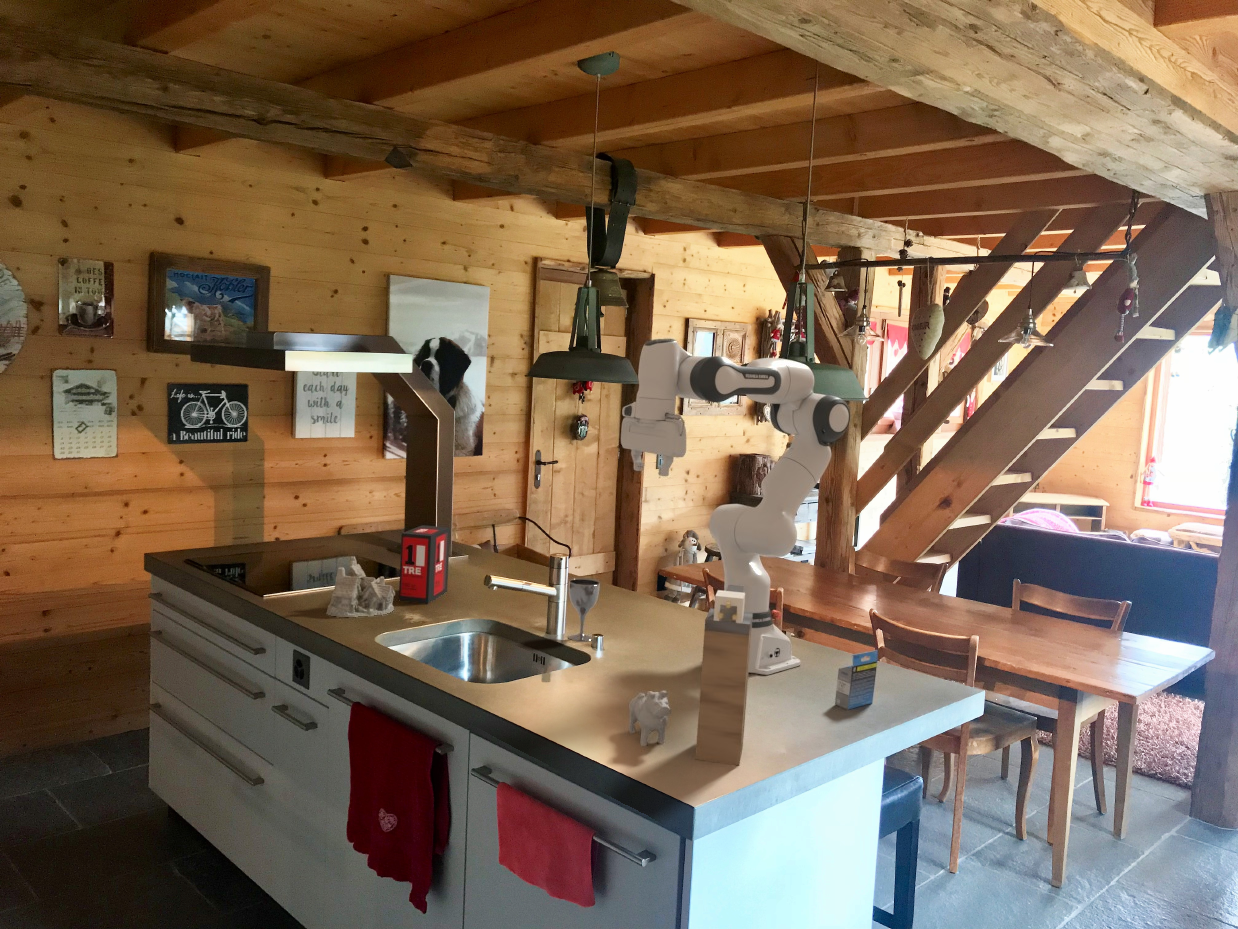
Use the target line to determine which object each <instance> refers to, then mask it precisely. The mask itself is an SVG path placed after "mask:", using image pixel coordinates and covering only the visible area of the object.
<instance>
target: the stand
mask: <svg viewBox="0 0 1238 929" xmlns="http://www.w3.org/2000/svg"><path fill="white" fill-rule="evenodd" d="M752 618H753V613H749V612H744V616H743V620H742V623H733V622H724V621H715V620H714V608H712V607H711V608H710V609H709V611H708V612H707V615H706V616H705V619H704V632H703V648H702V660H701V675H700V689H699V690H700V691H699V704H698V715H697V716H698V718H697V728H696V729H697V731H696V732H697V734H696V743H695V744H696V747H695V759H694V760H695V761H696V760H697V761H698V760H699V761H705V762H710V763H711V762H712V763H720V764H727V765H734V766H740V765H741V760H742V753H743V748H744V747H743V746H744V739H745V738H744V737H745V736H744V735H745V725H746V724H745V722H746V711H747V710H746V709H747V696H748V685H749V684H748V683H749V673H750V672H749V658H750V645H751V632H752Z"/></svg>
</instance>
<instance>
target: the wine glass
mask: <svg viewBox="0 0 1238 929" xmlns="http://www.w3.org/2000/svg"><path fill="white" fill-rule="evenodd" d="M568 582H569V583H568V595H569V600H570V603H571V605H572V606H573V607H574V609H575V610H576V612H577V613H578V615H579V621H580V623H579V625H580V629H579V633H575V634H574V633H573V634H569V635H567V639H568V638H569V639H568V640H570V639H572V640H571V641H573V640H574V642H580V641H581V643H582V642H583V643H584V642H586V641H587V642H592V641H591V639H592V636H593V635H589V634H586V633H585V632H584V625H585V624H584V623H585V619H586V616H587V614H588V613H589V611H591V609H592V608H593V607H595V605H596V604H597V602H598V598H599V595H600V594H599V592H600V588H601V587H600V585H601V583H600V581H599V580H597V579H593V578H584V577H582V578H581V577H580V578H579V577H577V578H571V579H569V581H568Z"/></svg>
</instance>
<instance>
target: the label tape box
mask: <svg viewBox="0 0 1238 929" xmlns="http://www.w3.org/2000/svg"><path fill="white" fill-rule="evenodd" d="M878 650H879V649H876V650H872V651H866V652H860V653H854V654H852V655H851V656H852V657H851V658H852V660H851V661H852V665H849V666H844V667H843V666H842V667H840V668H838V672H837V680H836V688H835V691H836V692H835V699H834V705H836V706H837V707H840V708H842V709H844V710H847V711H849V710H852V709H856V708H858V707H862V706H867V705H869V704H870V705H871V704H873V701H874V692H875V685H876V677H877V667H878V652H879V651H878ZM864 658H869V659H867V660H862V659H864Z"/></svg>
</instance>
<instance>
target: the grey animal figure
mask: <svg viewBox="0 0 1238 929" xmlns="http://www.w3.org/2000/svg"><path fill="white" fill-rule="evenodd" d="M668 700H669V699H668V693H667V690H661V691H657V692H656V691H655V692H653V691H652V690H650V691H649V690H648V691H647V694H645V693H644V692H639V693H638V694H637V695H636V697H633V698H632V700H630V702H629V705H628V708H629V709H628V710H629V725H628V732H629V733H630V734H635V733H637V731H636V728H635V725H636V723H637V722H638V723H639V724H638V725H639V727H640V730H641V731H640V740H639V745H640V746H644V747H646V746H648V740H649V735H650V733H651V732H653V731H657V743H658V744H661V745H665V744H666V740H665V736H666V733H665V732H666V728H667V723H668V717H669V716H670V714H671V712H672V709H671V708H670V705H669V701H668Z"/></svg>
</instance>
